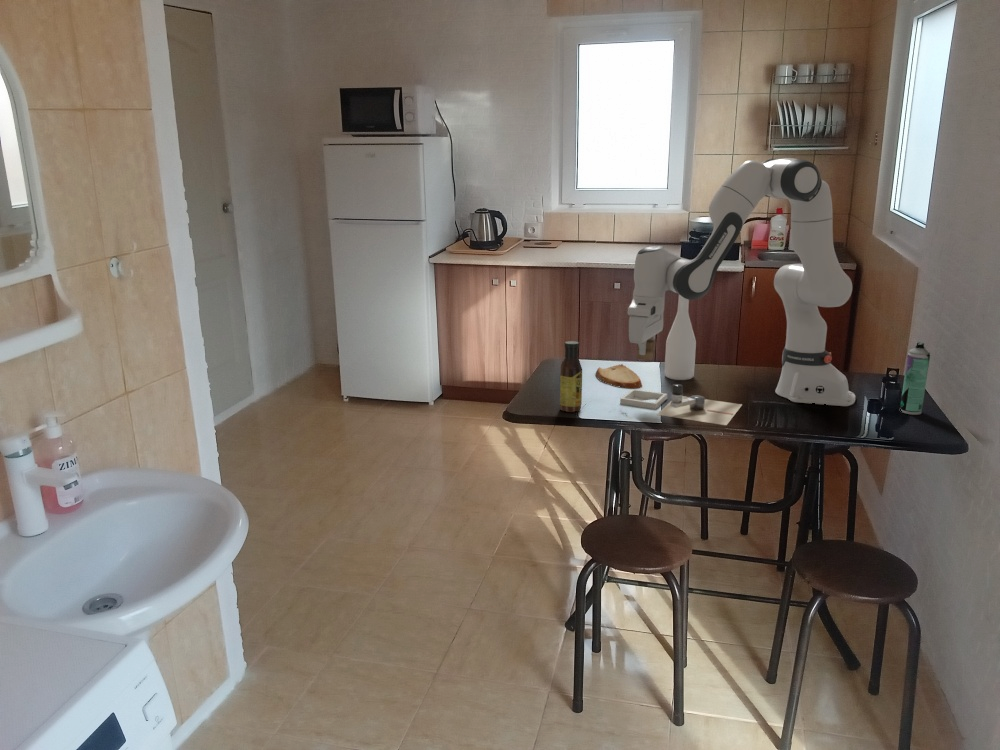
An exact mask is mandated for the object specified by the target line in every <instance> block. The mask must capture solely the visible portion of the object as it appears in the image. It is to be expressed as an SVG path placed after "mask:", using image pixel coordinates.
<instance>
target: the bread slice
mask: <svg viewBox="0 0 1000 750" xmlns="http://www.w3.org/2000/svg"><path fill="white" fill-rule="evenodd" d="M595 377H596V378H597V379H598V378H599V379H600V380H601V382H602V381H604V382H603V383H605V382H606V383H605V384H607V383H609V384H612V385H611V386H613V385H615V386H614V387H616V386H620V387H619V388H622V387H624V389H641V388H643V383H642V381H641V378H640V376H639V375H638V374H637V373H636V372H634V371H633V370H632V369H630V367H628V366H626V365H624V364H623V363H621V364H616V365H613V366H609V367H606V368H603V367H598V368H597V369H596V372H595ZM599 379H598V380H599ZM600 380H599V381H600ZM609 384H608V385H609ZM640 387H641V388H640Z"/></svg>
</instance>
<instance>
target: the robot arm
mask: <svg viewBox="0 0 1000 750" xmlns="http://www.w3.org/2000/svg"><path fill="white" fill-rule="evenodd" d="M764 197H765V198H773V199H778V200H788V201H789V204H790V209H791V210H790V246H791V248H792V250H793V251H794V253H795V254H796V255H797V256H798V258H799V260H800V261H801V263H791V264H784V265H783V266H781V267H780V268H779V269H778V270H776V273H775V274H774V278H773V287H774V290H775V292H776V293H777V294H778V295H779V297H780V299H781V301H782V305H783V308H784V311H785V318H786V333H785V336H786V338H785V346H784V348H783V350H782V356H781V364H782V368H781V373H780V377H779V381H778V383H777V386H776V388H775V390H774V391H775V394H777V395H778V396H780V397H783V398H785V399H788V400H790V401H791V402H792V403H804V404H812V403H815V405H824V404H826V406H827V405H828V406H840V407H849V406H852V405H854V404H855V402H856V395H855V393H854V392H852V391H850V390H849V383H848V379H847V377H846V375H845V374H843V373H842V372H841V371H840V369H839V370H838V369H837V368H836V367H835V366H834V365H833V364H832V362H831V361H832V360H833V358H832V352H831V351H830V352H829V351H827V350H826V343H827V333H828V325H827V322H826V321H825V319H824V318H823V316H822V315H821V313H820V310H819V308H818V307H821V308H836V307H837V308H838V307H842V306H843V305H845V304H846V303H847V302H848V301H849V300H850V298H851V295H852V292H853V283H852V279H851V278H850V276H849V275H848V274H847V273H845V271H844V269H843V267H841V264H840V263H839V260H838V257H837V254H836V251H835V247H834V232H833V231H834V230H833V226H834V225H833V221H834V217H833V216H834V214H833V211H834V210H833V202H832V201H833V199H832V194H831V189H830V185H829V184H828V183H827V182H826V181H825V180H823V179H821V173H820V171H819V168H818V167H817V165H815V163H813V162H812V161H809V160H807V159H805V158H804V159H803V158H795V157H794V158H793V157H784V158H783V157H782V158H771V159H767V160H765V161H762V162H760V161H758V160H754V159H751V160H746V161H743V162H742V163H741V164H740V165H739V166H738V167H737V168H736V169H734V170H733V172H732V173H731V174H730V175H729V176H728V177H727V178H726V180H725V181H723V183H722V184H721V186H720V187H719V188H718V190H717V191H716V192H715V194H714V196H713V197H712V199H711V201H710V203H709V206H708V214H709V218H710V220H711V221H712V224H713V230H712V232H711V235H710V236H709V237H708V239H707V240H706V242H705V244H704V245H703V247H702V249H701V250H700V252H699V253H698V254H697V256H696V257H695V258H693V259H688V258H684V257H681V256H679V255H676V254H674V253H672V252H671V251H669V250H668V249H666V248H665V247H664V246H662V245H651V246H647V247H643V248H641V249H639V250H638V252H637V253H636V257H635V260H634V266H633V267H634V268H633V282H634V289H633V291H632V298H631V302H630V304H629V306H628V307H627V315H628V316H629V319H628V339H629V342H630V343H631V344H636V345H637V344H638V346H639V354H640V355H645V354H646V353H647V348H646V343H647V340H648V339H649V340H656V335H658V334H659V333H660V332H661V333H662V332H663V328H664V311H665V302H666V301H665V298H666V292H668V291H671V292H673V293H676V294H677V295H678V296H679V295H681V296H682V297H684V298H686V299H689V301H694V300H700V299H702V298H703V297H705V296H706V295H707V294H708V293H709V291H710V290H711V289H712V286H713V283H714V280H715V277H716V274H717V271H718V269H719V268H720V266H721V265H722V263H723V261H724V260H725V258H726V256H727V254H728V253H729V251H730V250H731V248H732V247H733V246H734V243H735V242H736V240H737V239H738V237H739V235H740V233H741V232H742V229H743V226H744V224H745V222H746V221H747V220H748V218H749V217H750V215H751V214H752V213H753V211H754V210H755V208H756V207H757V206H758V205H759V203H760V201H761V200H762V199H763V198H764Z"/></svg>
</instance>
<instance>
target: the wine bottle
mask: <svg viewBox="0 0 1000 750" xmlns="http://www.w3.org/2000/svg"><path fill="white" fill-rule="evenodd" d="M677 302H678V303H677V311H676V315H675V318H674V320H673V323H672V325H671V328H670V330H669V332H668V335H667V338H666V342H665V357H664V371H663V372H664V376H665V377H666V378H667V379H671V380H674V381H687V380H691V379H693V378H694V375H695V366H696V365H695V364H696V363H695V362H696V351H697V350H696V347H697V341H696V336H695V333H694V329H693V324H692V321H691V319H690V318H691V317H690V313H689V309H690V308H689V306H690V305H689V304H690V300H689V299H686V298H684V297H682V296H681V295H679V294H678V301H677Z"/></svg>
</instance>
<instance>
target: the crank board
mask: <svg viewBox="0 0 1000 750" xmlns="http://www.w3.org/2000/svg"><path fill="white" fill-rule="evenodd" d="M686 398H690V396H686V395H685V396H684V395H682V399H686ZM742 406H743V404H742V403H734V402H729V401H728V402H727V401H720V400H713V399H707V398H705V404H704V409H702V410H695V409H691V408H690V405H686V406H682V407H678V408H674V407H672V406H671V401H669V402H668V403H667V404H666V405H665V406H664V407H663V408H662V409H661V410H660V411H659V412H658V413H657V414H656V415H657V416H662V417H669V418H670V417H671V418H677V419H683V420H688V421H694V422H695V421H696V422H700V423H701V422H702V423H706V424H707V423H708V424H714V425H721V426H728V424H729V423H730V421H731V420H732V419H733V417H734V416H735V415H736V413H737V412H738V411H739V410H740V408H741V407H742Z"/></svg>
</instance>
